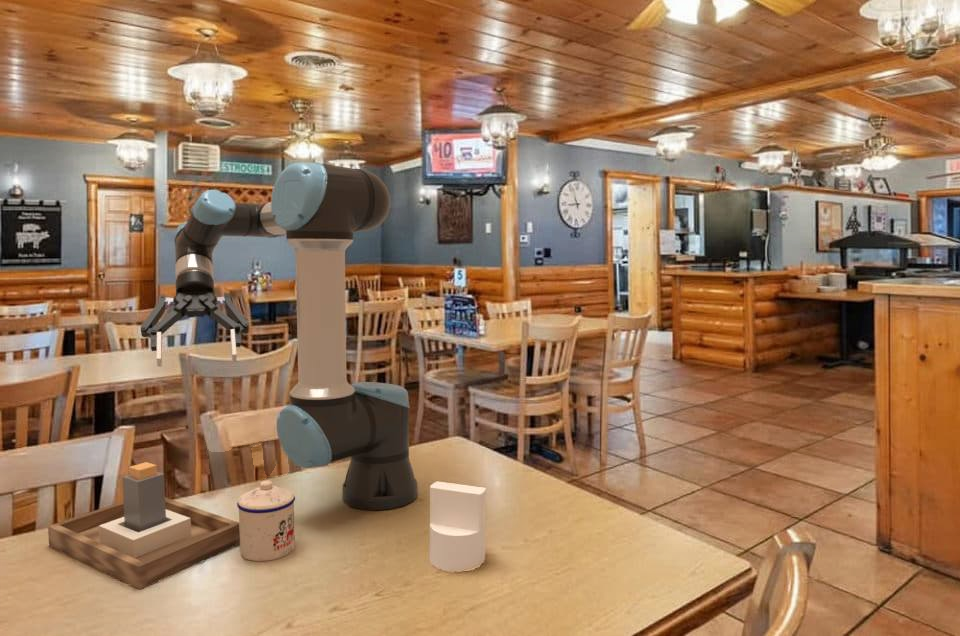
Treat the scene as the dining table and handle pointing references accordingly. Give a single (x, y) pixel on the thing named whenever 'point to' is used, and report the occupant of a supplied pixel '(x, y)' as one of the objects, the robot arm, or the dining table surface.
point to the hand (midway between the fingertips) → (197, 360)
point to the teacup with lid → (266, 522)
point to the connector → (143, 497)
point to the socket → (144, 535)
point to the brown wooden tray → (142, 571)
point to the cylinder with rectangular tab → (457, 526)
